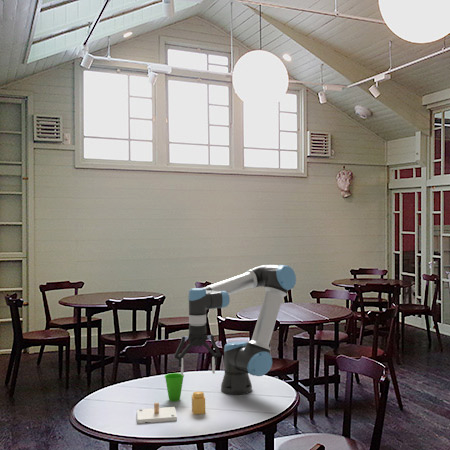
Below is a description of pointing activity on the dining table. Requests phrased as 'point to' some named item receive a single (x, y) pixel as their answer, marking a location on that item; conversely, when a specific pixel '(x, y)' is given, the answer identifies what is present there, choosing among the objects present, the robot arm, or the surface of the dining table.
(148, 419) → the lid
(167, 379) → the cup
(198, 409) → the ball on cube
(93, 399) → the dining table surface
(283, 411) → the dining table surface
